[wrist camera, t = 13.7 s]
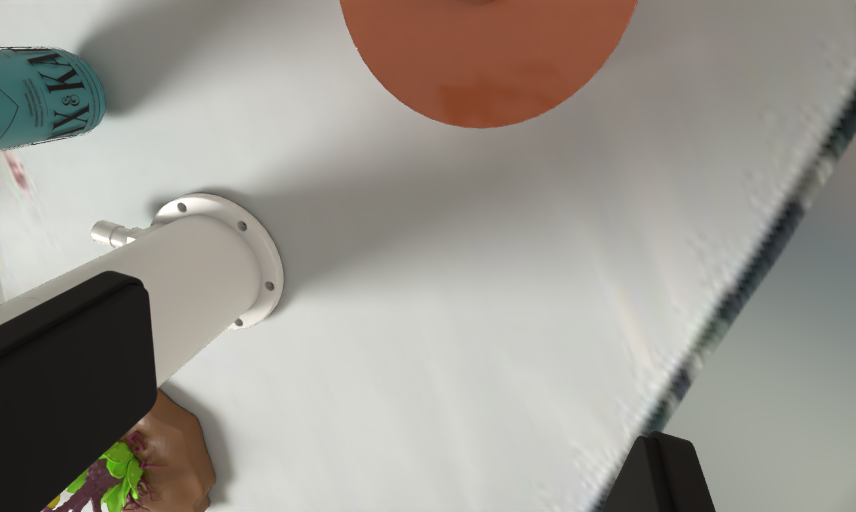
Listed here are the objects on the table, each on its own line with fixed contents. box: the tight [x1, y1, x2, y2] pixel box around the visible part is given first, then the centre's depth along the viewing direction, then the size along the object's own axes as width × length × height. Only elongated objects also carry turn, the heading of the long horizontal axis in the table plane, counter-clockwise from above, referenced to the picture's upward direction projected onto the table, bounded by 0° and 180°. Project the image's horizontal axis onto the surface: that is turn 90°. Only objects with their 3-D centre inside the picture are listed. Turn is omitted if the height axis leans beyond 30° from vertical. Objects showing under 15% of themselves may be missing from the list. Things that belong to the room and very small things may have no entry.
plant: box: [42, 389, 216, 512], centre depth 52 cm, size 20×20×11 cm
